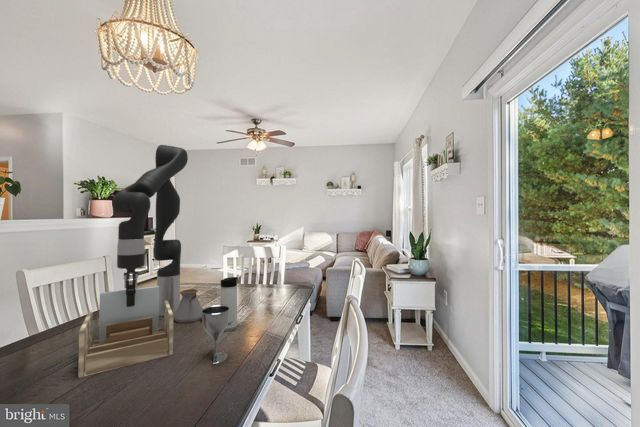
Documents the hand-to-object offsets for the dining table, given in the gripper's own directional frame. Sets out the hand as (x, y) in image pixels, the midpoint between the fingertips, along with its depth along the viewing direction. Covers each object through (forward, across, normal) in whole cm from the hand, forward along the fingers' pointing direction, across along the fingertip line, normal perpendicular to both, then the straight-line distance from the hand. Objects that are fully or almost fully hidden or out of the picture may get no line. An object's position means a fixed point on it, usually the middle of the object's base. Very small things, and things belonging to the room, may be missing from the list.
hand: (130, 305), depth 91 cm
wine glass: (+15, -21, -22) cm, 34 cm away
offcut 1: (+13, -4, 0) cm, 14 cm away
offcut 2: (+13, -7, 0) cm, 15 cm away
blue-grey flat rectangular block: (+13, 0, 0) cm, 13 cm away
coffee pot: (+15, +11, -20) cm, 27 cm away
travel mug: (+15, 0, -32) cm, 35 cm away
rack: (+15, -6, 0) cm, 16 cm away
